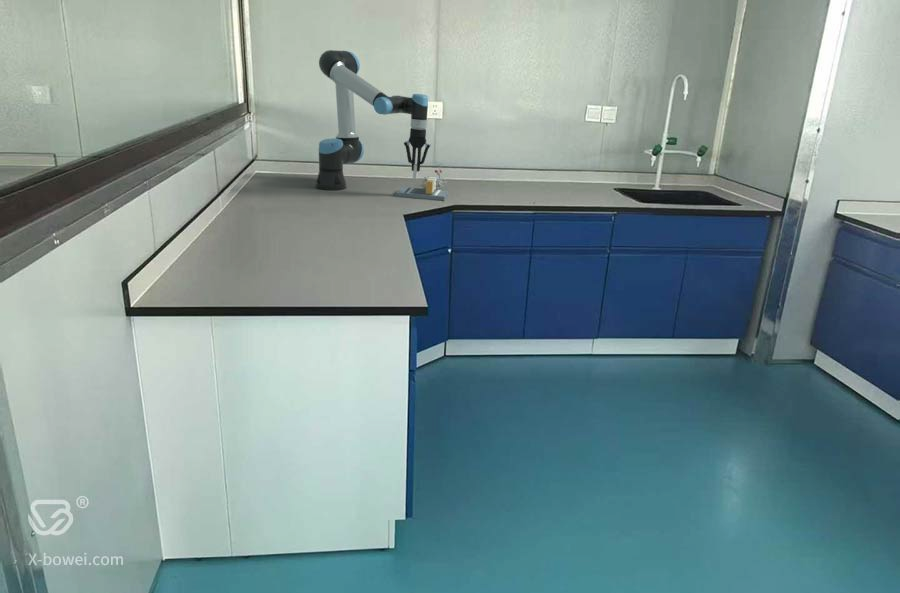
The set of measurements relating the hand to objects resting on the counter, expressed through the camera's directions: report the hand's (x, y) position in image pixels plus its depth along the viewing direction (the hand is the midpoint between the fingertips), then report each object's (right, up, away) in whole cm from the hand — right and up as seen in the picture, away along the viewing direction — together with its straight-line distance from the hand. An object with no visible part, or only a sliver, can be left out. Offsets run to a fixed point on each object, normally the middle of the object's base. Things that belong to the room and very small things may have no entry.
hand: (415, 177), depth 308 cm
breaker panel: (+3, -8, +5) cm, 10 cm away
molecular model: (+10, -2, +22) cm, 24 cm away
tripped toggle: (+7, -8, 0) cm, 10 cm away
